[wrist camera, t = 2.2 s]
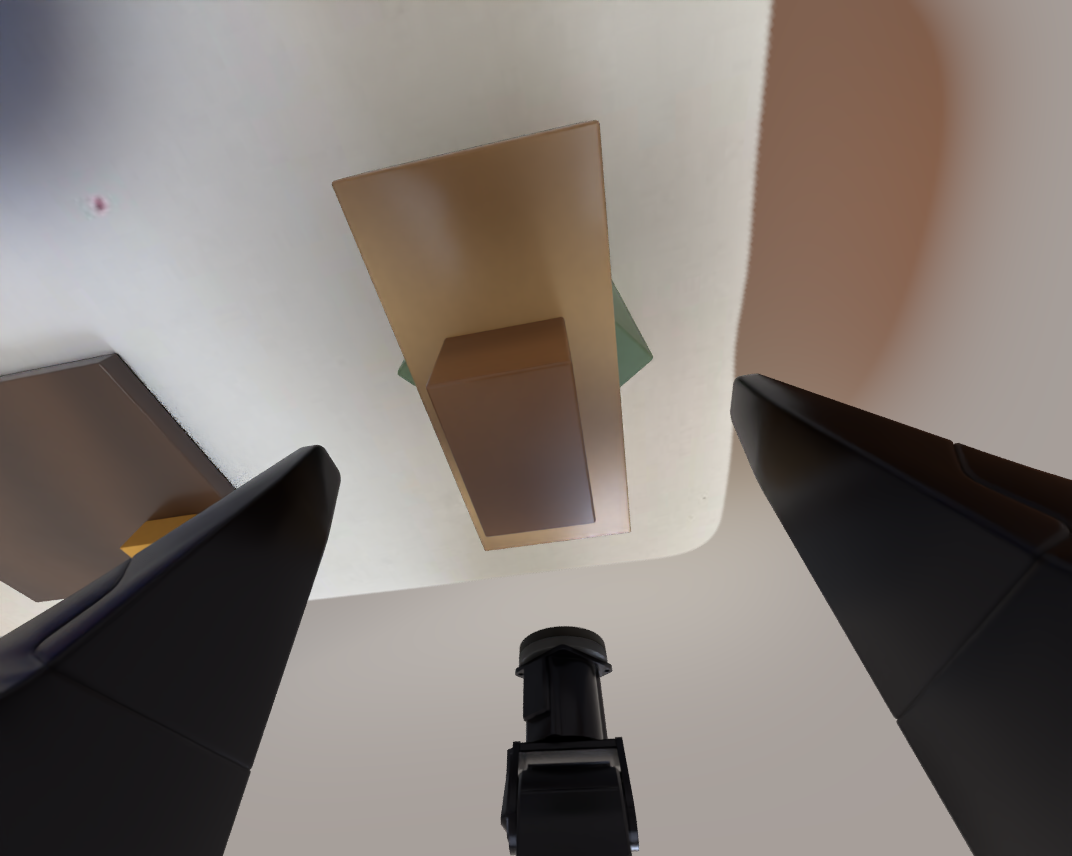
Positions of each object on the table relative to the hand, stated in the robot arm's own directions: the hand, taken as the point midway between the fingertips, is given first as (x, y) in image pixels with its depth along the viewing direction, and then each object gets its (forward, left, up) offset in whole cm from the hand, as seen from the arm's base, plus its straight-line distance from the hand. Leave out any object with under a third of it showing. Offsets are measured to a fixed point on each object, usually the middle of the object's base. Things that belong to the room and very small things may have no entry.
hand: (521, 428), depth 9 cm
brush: (0, 0, -3) cm, 3 cm away
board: (+12, +28, -11) cm, 33 cm away
